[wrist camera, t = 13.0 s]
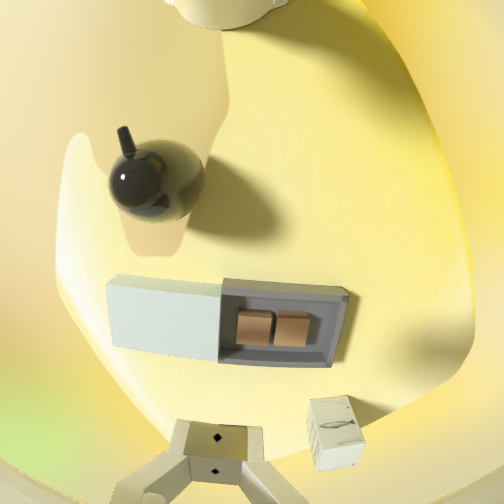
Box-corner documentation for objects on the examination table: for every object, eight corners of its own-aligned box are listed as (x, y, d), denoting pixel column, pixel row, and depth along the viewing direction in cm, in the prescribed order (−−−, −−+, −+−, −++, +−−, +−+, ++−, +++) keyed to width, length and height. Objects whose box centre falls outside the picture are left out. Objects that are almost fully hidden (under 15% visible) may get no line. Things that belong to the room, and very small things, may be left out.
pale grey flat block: (118, 273, 40) (105, 283, 35) (223, 284, 40) (220, 297, 36) (123, 331, 42) (113, 345, 38) (220, 344, 43) (217, 361, 38)
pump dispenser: (200, 133, 35) (171, 105, 20) (216, 209, 38) (195, 227, 23) (130, 153, 36) (70, 143, 21) (146, 225, 38) (92, 251, 23)
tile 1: (239, 307, 40) (238, 315, 38) (270, 310, 41) (271, 318, 38) (236, 334, 42) (236, 343, 39) (266, 337, 42) (267, 345, 39)
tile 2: (310, 319, 38) (307, 311, 41) (278, 317, 38) (276, 309, 41) (304, 346, 39) (301, 338, 42) (273, 345, 39) (272, 336, 42)
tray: (223, 278, 40) (221, 287, 37) (341, 286, 41) (348, 295, 37) (220, 350, 43) (217, 363, 39) (326, 355, 43) (331, 367, 40)
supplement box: (347, 393, 46) (368, 442, 33) (340, 419, 48) (357, 466, 35) (308, 397, 46) (322, 450, 33) (304, 423, 47) (314, 473, 35)
